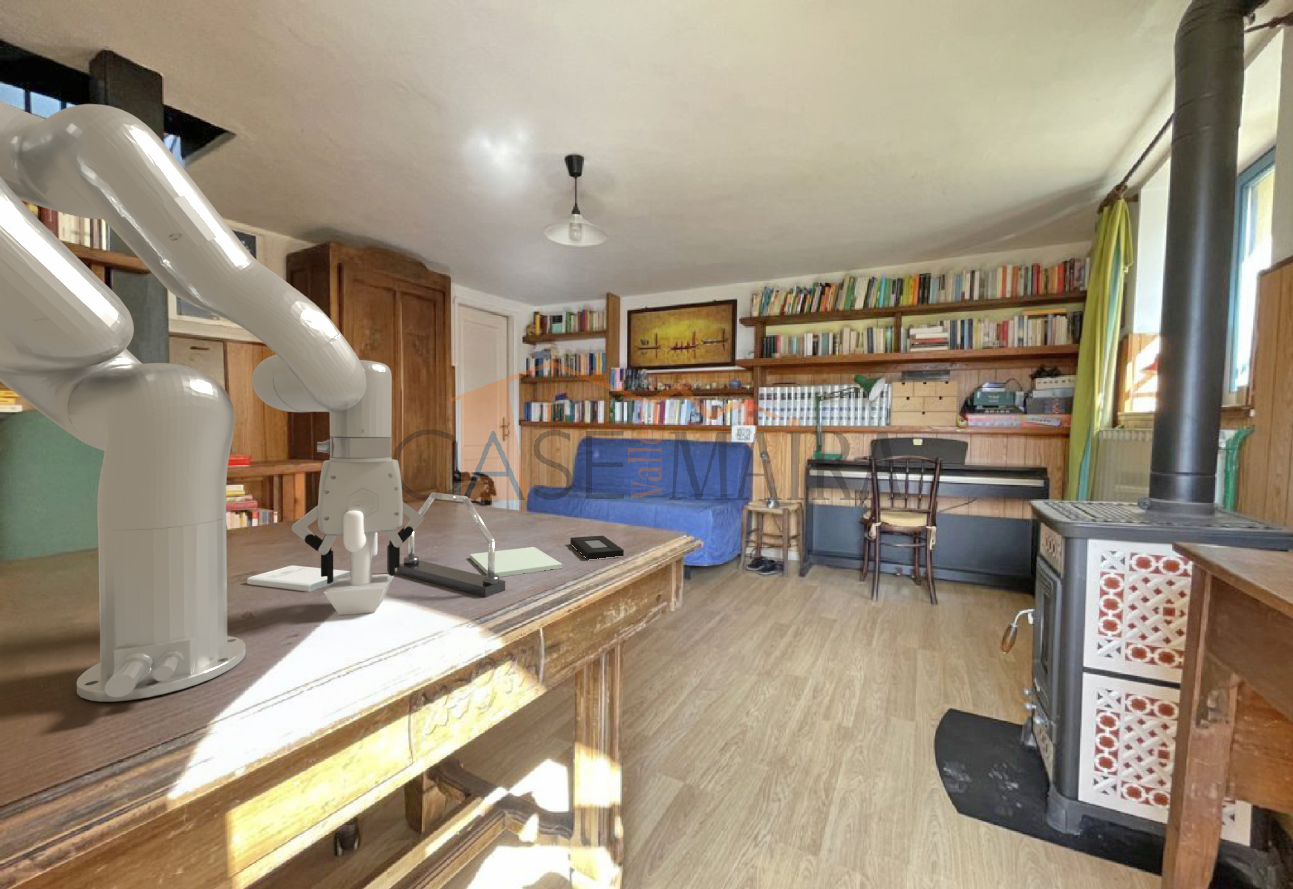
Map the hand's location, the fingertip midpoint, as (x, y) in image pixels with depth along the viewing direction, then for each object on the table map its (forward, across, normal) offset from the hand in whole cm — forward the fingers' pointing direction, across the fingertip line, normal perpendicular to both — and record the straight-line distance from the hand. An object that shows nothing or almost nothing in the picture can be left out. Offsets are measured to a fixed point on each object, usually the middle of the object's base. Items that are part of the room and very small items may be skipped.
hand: (361, 576), depth 71 cm
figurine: (+5, 0, 0) cm, 5 cm away
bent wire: (+5, +13, +7) cm, 15 cm away
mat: (+5, +26, +13) cm, 29 cm away
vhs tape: (+5, +44, +15) cm, 47 cm away
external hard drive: (+5, -8, +19) cm, 21 cm away
